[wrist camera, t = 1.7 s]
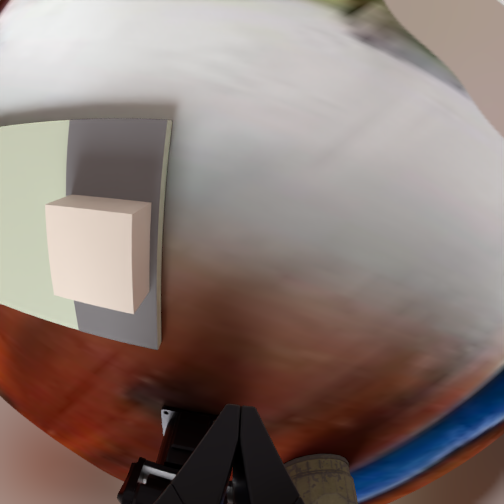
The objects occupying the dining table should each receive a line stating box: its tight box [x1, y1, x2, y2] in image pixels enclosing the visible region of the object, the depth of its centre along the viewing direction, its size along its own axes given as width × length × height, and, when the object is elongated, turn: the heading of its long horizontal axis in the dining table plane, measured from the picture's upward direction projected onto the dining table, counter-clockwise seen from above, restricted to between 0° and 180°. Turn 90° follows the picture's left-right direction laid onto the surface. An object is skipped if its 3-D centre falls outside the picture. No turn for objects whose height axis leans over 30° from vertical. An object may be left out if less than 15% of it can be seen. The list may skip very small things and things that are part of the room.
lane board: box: [0, 120, 172, 348], centre depth 19 cm, size 16×24×1 cm, turn 82°
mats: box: [66, 119, 168, 350], centre depth 18 cm, size 16×24×1 cm, turn 82°
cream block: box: [45, 195, 152, 314], centre depth 17 cm, size 6×6×3 cm
